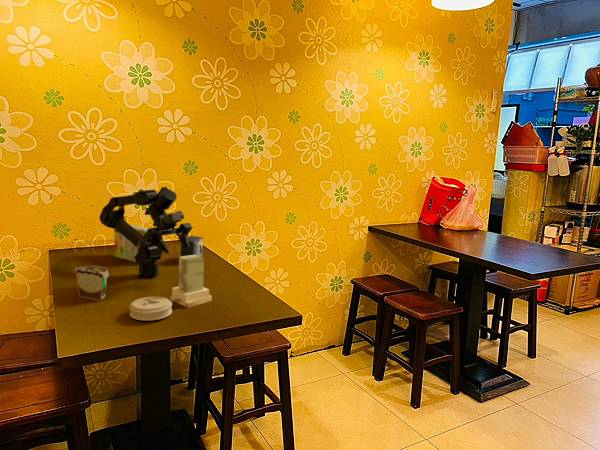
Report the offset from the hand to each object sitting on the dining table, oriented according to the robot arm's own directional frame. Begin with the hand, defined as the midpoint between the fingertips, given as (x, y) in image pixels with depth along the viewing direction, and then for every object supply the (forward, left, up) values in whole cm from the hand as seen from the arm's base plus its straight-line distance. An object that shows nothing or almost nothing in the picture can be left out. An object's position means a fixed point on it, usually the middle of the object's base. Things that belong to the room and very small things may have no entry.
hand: (178, 250), depth 168 cm
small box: (-8, +35, -14) cm, 38 cm away
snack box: (-33, +30, -14) cm, 47 cm away
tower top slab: (+10, -13, -12) cm, 20 cm away
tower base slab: (+10, -13, -14) cm, 22 cm away
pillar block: (+10, -13, -9) cm, 19 cm away
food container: (-22, -17, -14) cm, 31 cm away
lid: (+3, -28, -14) cm, 32 cm away
